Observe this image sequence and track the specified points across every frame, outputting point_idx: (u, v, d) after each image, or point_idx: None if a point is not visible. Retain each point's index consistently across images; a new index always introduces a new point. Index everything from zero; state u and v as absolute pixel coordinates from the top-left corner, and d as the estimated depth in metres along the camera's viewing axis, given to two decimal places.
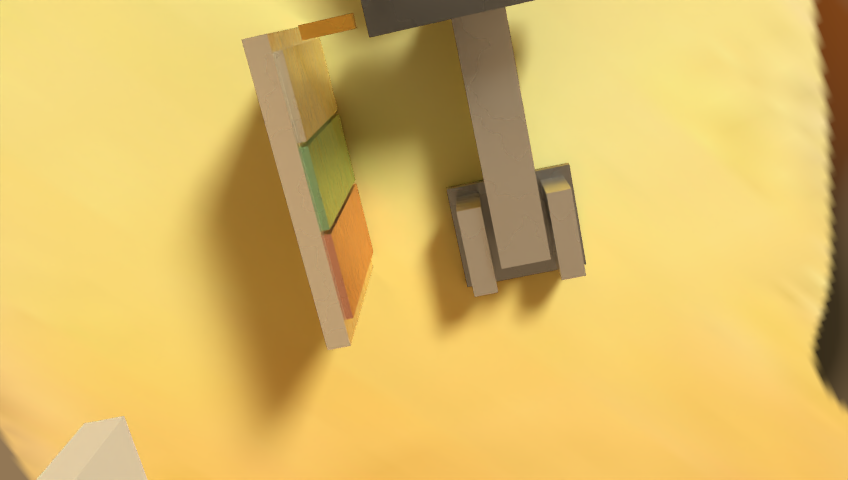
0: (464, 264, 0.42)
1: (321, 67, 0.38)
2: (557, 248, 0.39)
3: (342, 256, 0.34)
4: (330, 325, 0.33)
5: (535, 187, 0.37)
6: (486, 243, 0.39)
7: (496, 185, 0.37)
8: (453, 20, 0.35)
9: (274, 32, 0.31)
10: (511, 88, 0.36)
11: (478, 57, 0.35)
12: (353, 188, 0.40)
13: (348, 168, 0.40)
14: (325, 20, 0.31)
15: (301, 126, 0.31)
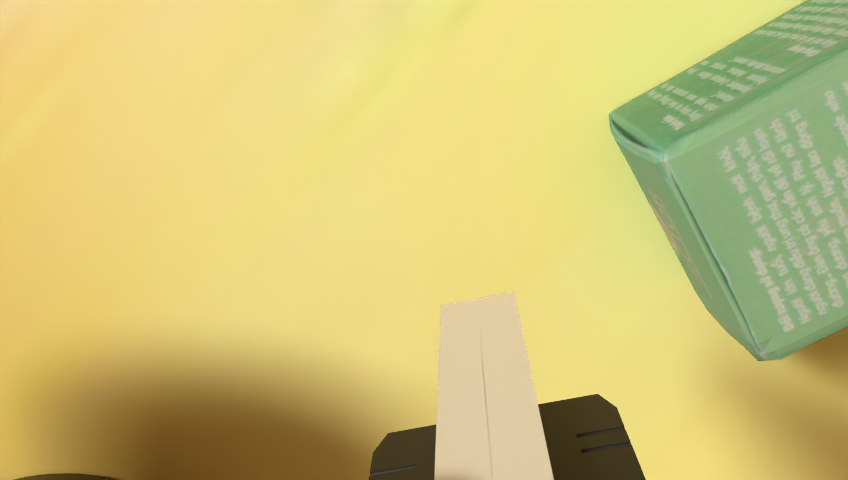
0: None
1: None
2: None
3: None
4: None
5: None
6: None
7: None
8: None
9: None
10: None
11: None
12: None
13: None
14: None
15: None
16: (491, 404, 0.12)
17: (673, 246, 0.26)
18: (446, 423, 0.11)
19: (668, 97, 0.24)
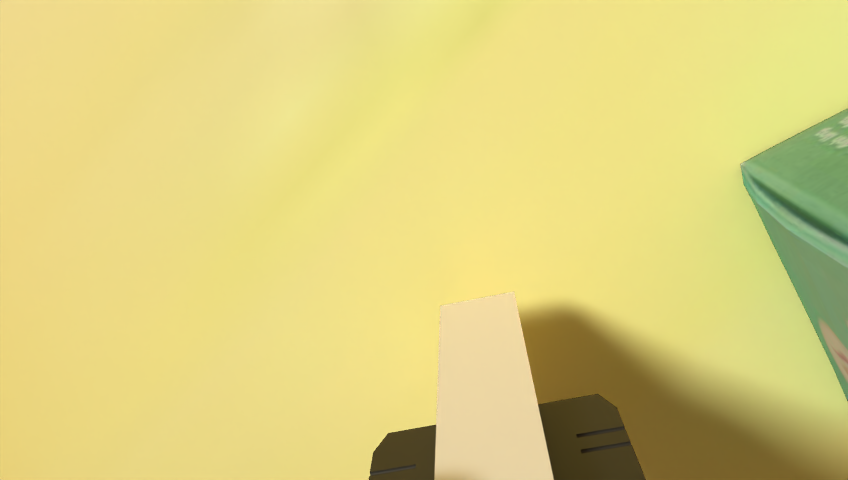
0: None
1: None
2: None
3: None
4: None
5: None
6: None
7: None
8: None
9: None
10: None
11: None
12: None
13: None
14: None
15: None
16: (491, 404, 0.12)
17: None
18: (446, 423, 0.11)
19: None
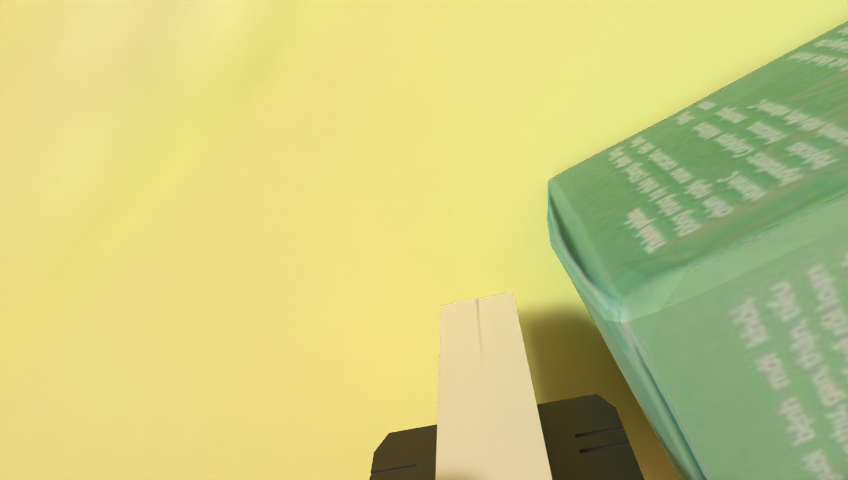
0: None
1: None
2: None
3: None
4: None
5: None
6: None
7: None
8: None
9: None
10: None
11: None
12: None
13: None
14: None
15: None
16: (490, 404, 0.12)
17: None
18: (447, 423, 0.11)
19: (641, 167, 0.14)
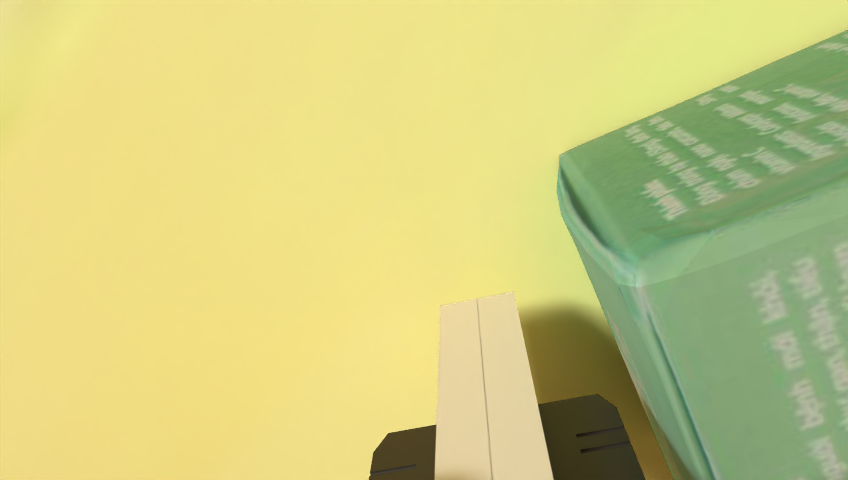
0: None
1: None
2: None
3: None
4: None
5: None
6: None
7: None
8: None
9: None
10: None
11: None
12: None
13: None
14: None
15: None
16: (491, 405, 0.12)
17: None
18: (446, 423, 0.11)
19: (660, 143, 0.13)
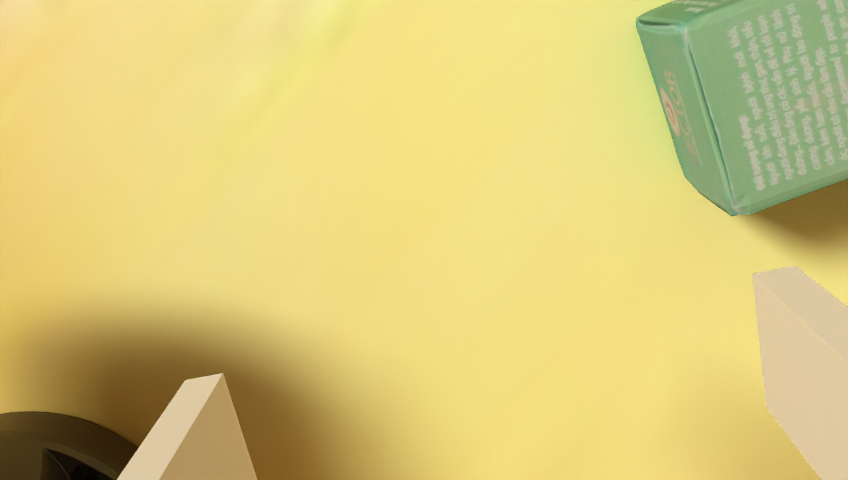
0: None
1: None
2: None
3: None
4: None
5: None
6: None
7: None
8: None
9: None
10: None
11: None
12: None
13: None
14: None
15: None
16: None
17: (674, 129, 0.31)
18: None
19: (690, 0, 0.30)
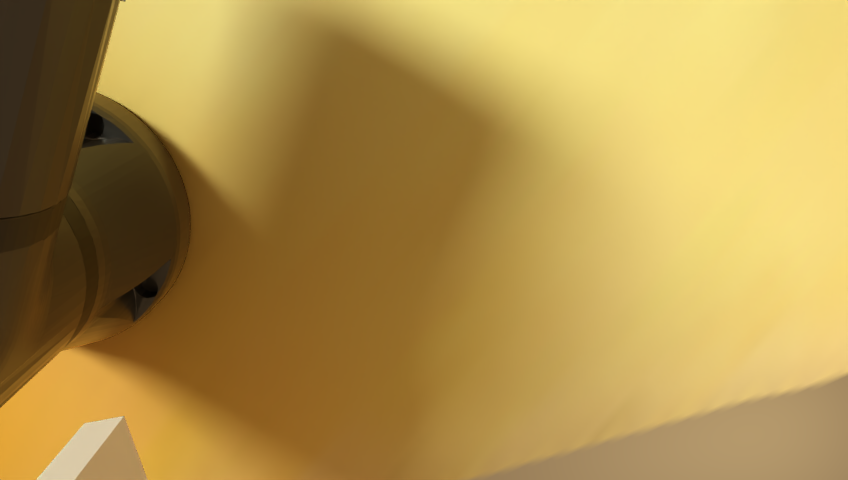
0: None
1: None
2: None
3: None
4: None
5: None
6: None
7: None
8: None
9: None
10: None
11: None
12: None
13: None
14: None
15: None
16: None
17: None
18: None
19: None
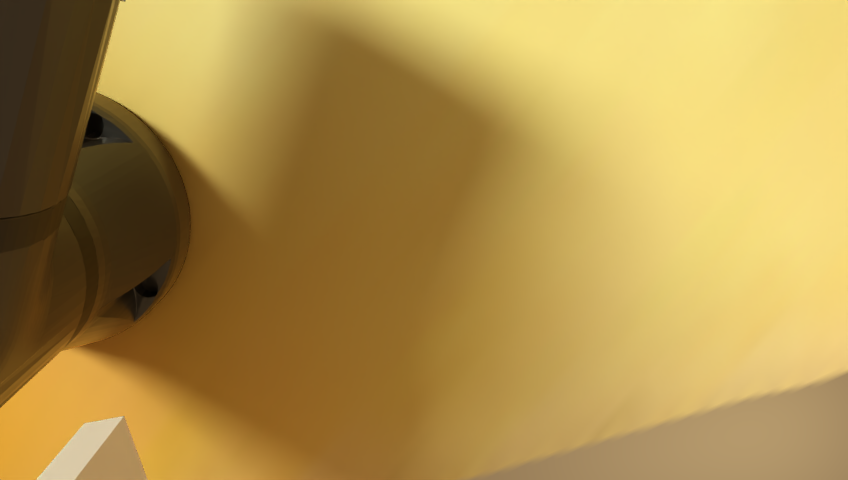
0: None
1: None
2: None
3: None
4: None
5: None
6: None
7: None
8: None
9: None
10: None
11: None
12: None
13: None
14: None
15: None
16: None
17: None
18: None
19: None
